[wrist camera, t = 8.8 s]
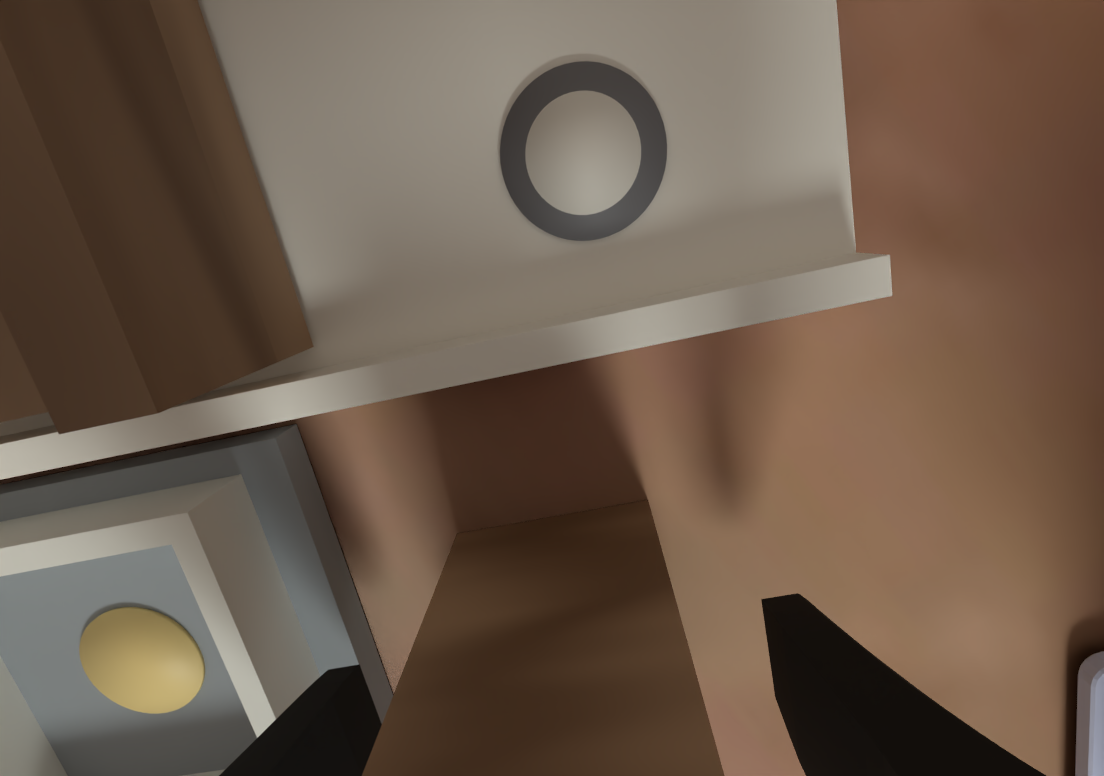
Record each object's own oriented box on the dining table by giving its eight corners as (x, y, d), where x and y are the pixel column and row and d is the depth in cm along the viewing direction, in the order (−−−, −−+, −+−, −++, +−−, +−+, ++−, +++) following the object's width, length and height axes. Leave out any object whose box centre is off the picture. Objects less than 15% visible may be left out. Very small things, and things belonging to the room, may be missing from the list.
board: (761, -564, 7) (861, -993, 5) (836, 285, 10) (925, 302, 7) (-381, -156, 9) (-758, -309, 6) (-46, 470, 12) (-217, 535, 9)
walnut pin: (648, 499, 11) (737, 821, 5) (678, 662, 12) (784, 1096, 6) (457, 533, 12) (323, 870, 5) (502, 688, 13) (432, 1122, 6)
